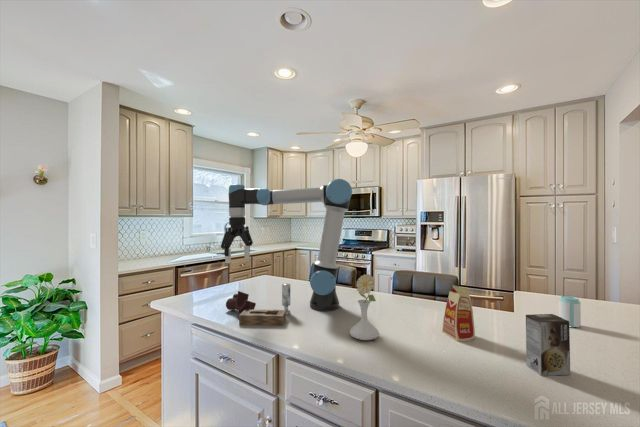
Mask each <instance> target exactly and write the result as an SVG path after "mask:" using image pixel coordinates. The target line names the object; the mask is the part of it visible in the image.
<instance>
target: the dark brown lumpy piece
mask: <svg viewBox="0 0 640 427" xmlns="http://www.w3.org/2000/svg"><path fill="white" fill-rule="evenodd" d="M249 296H250V294H248V293H246V292H243V291H239V290H238V291H237V293H234V294H233V295H232V297H231V298H228V299H227V300H226V302H225V307H226V309H227V310H228V311H234V310H236V311H238V313H239V314H241V313H242V312H243V311H244V310H245V309H255V308H256V305H257V303H256V302H253V301H250V300H249Z"/></svg>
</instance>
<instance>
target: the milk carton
mask: <svg viewBox="0 0 640 427" xmlns="http://www.w3.org/2000/svg"><path fill="white" fill-rule="evenodd" d="M442 320H443V322H442V330H441V332H442V334H445V335H446V336H447V337H450V338H451V339H453V340H454V341H455V342H458V341H459V342H465V341H464V340H466V341H470V340H469V339H472V340H475V339H476V334H475V333H476V332H475V330H476V329H475V328H476V327H475V320H474V310H473V305H472V300H471V296H470V294H469V292H468V287H467V286H466V287H464V286H459V285H458V286H457V285H454V284H452V288H451V289H450V290H449V292H448V297H447V300H446V304H445V309H444V316H443V319H442Z"/></svg>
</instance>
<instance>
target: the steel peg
mask: <svg viewBox="0 0 640 427" xmlns="http://www.w3.org/2000/svg"><path fill="white" fill-rule="evenodd" d="M281 305H282V306H283V308H284V309H283V310H286V316H289V315H291V310H290V309H289V307H290V306H291V283H287V282H285V283H283V284H281Z"/></svg>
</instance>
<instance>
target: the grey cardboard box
mask: <svg viewBox="0 0 640 427" xmlns="http://www.w3.org/2000/svg"><path fill="white" fill-rule="evenodd" d="M570 339H571V338H570V327H569V321H567V320H565V319H563V318H561V317H559V315H556V314H554V313H543V314H541V313H540V314H534V313H533V314H525V361H526V362H525V363H526V364H525V365H526V367H527V368H529V367H530V368H529V369H531V370H532V371H533V372H535V373H536V372H537V373H536V374H538V375H539V376H541V377H547V376H569V375H571V351H570V350H571V347H570V346H571V343H570V342H571V341H570Z"/></svg>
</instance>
